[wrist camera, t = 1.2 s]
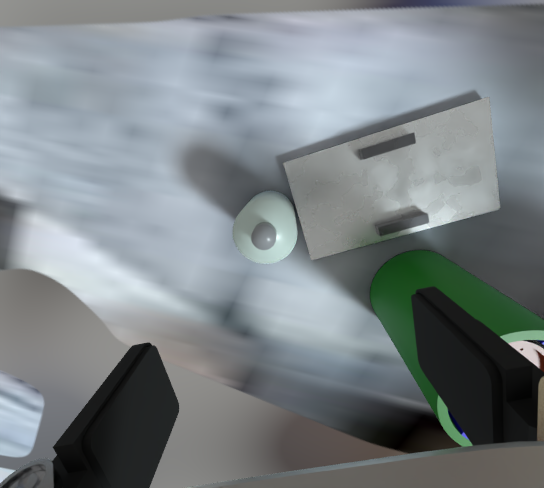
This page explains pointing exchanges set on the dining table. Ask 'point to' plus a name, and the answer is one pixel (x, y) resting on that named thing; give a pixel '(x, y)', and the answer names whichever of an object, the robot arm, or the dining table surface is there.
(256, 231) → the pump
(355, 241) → the clip bracket
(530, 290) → the dining table surface
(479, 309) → the motor
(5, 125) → the dining table surface
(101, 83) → the dining table surface
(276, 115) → the dining table surface
